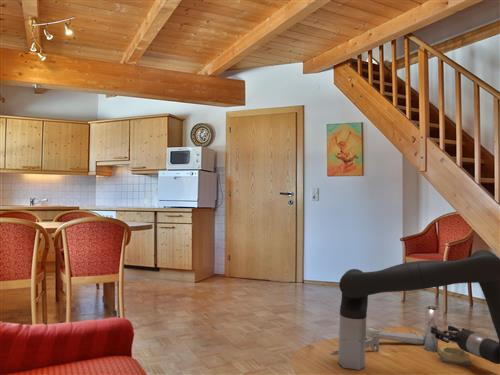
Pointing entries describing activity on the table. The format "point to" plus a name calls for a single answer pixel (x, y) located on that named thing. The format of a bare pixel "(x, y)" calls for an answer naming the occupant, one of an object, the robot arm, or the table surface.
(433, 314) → the grey bottle
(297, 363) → the table surface
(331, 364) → the table surface
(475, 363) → the table surface
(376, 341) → the caliper
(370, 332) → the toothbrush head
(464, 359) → the ring block
